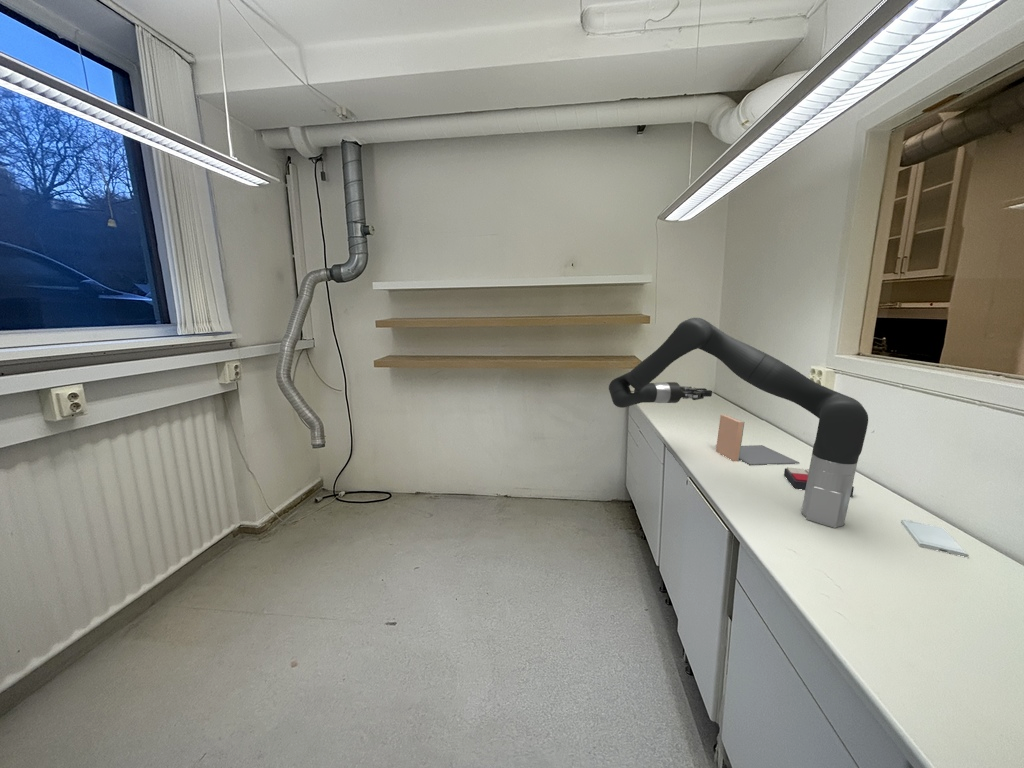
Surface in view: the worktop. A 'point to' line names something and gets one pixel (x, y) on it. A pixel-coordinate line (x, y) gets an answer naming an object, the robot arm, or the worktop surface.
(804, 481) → the calculator
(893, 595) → the worktop surface
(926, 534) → the hard drive
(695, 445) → the worktop surface
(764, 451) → the mat
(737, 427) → the tile
